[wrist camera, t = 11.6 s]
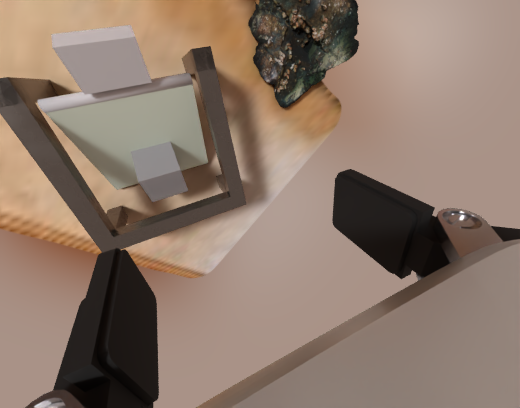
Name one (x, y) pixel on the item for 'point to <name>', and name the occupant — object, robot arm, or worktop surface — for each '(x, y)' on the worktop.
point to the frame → (74, 186)
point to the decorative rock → (302, 42)
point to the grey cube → (159, 171)
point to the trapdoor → (122, 104)
